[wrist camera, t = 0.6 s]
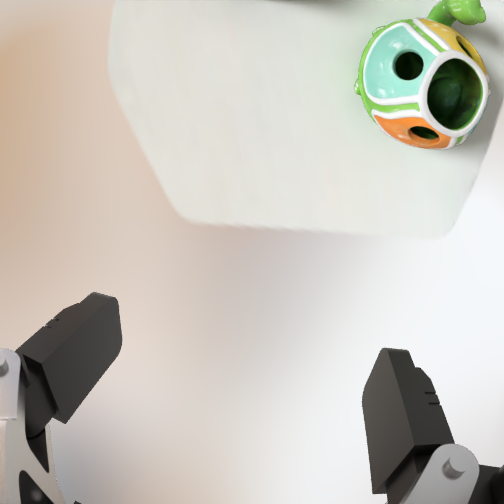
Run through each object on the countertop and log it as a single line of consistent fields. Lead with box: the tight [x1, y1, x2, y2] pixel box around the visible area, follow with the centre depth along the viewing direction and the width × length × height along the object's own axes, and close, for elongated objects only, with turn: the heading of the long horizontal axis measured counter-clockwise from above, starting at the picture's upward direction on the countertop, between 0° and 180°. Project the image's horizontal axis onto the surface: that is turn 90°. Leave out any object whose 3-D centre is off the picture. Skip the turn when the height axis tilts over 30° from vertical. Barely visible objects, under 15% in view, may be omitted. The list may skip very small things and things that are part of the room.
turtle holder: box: [354, 0, 491, 150], centre depth 21 cm, size 12×18×12 cm
